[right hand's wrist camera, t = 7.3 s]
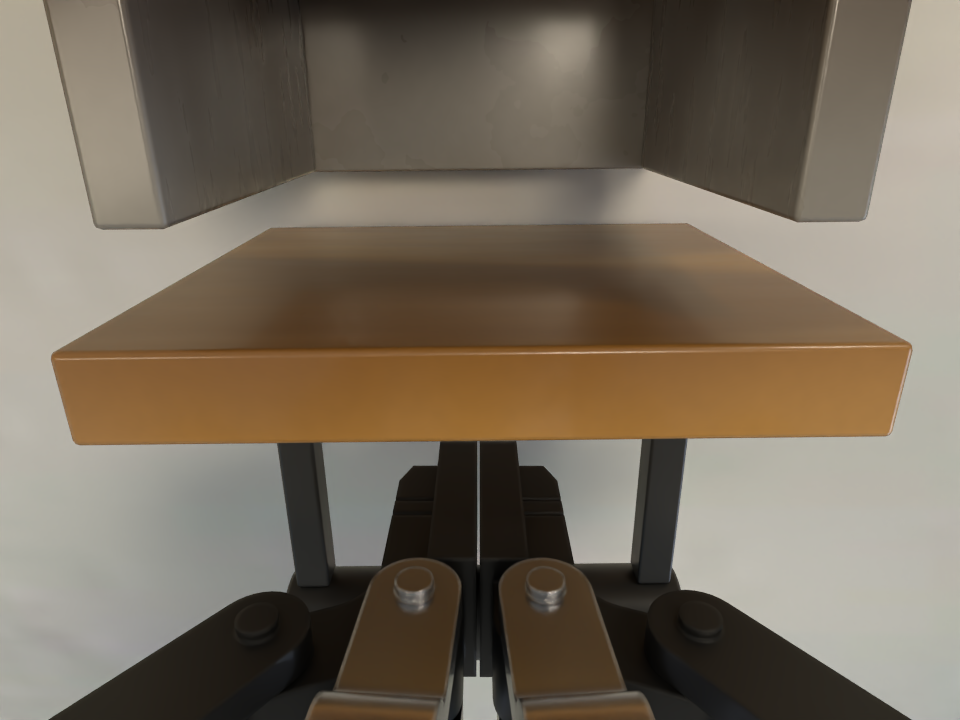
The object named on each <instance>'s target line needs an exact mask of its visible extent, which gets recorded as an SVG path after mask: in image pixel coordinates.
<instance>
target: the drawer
mask: <svg viewBox="0 0 960 720" xmlns="http://www.w3.org/2000/svg"><path fill="white" fill-rule="evenodd" d="M43 2H44V7H45V11H46V15H47V20H48V24H49V29H50V33H51V37H52V42H53V46H54V51H55V55H56V59H57V64H58V68H59V73H60V77H61V81H62V86H63V90H64V95H65V99H66V103H67V108H68V112H69V116H70V121H71V125H72V130H73V134H74V138H75V143H76V147H77V152H78V156H79V160H80V165H81V169H82V174H83V178H84V182H85V187H86V191H87V196H88V200H89V204H90V209H91V213H92V218H93V222H94V225H95V226H96V228H100V229H103V230H122V229H165V228H167V227H170V226H173V225H175V224H178V223H180V222H183V221H186V220H188V219H191V218H194V217H196V216H199V215H202V214H204V213H207V212H209V211H212V210H215V209H217V208H220V207H223V206H225V205H228V204H231V203H233V202H236V201H238V200H241V199H244V198H246V197H249V196H252V195H254V194H257V193H260V192H262V191H265V190H267V189H270V188H273V187H275V186H278V185H281V184H283V183H286V182H289V181H291V180H294V179H296V178H299V177H302V176H304V175H307V174H310V173H312V172H343V171H436V170H529V169H623V168H644V169H647V170H649V171H652V172H655V173H658V174H661V175H664V176H667V177H670V178H672V179H675V180H678V181H681V182H684V183H687V184H690V185H692V186H695V187H698V188H701V189H704V190H707V191H710V192H712V193H715V194H718V195H721V196H724V197H727V198H730V199H733V200H735V201H738V202H741V203H744V204H747V205H750V206H753V207H755V208H758V209H761V210H764V211H767V212H770V213H773V214H775V215H778V216H781V217H784V218H787V219H790V220H793V221H796V222H859V221H862V220H865V219H866V217H867V214H868V209H869V205H870V200H871V195H872V190H873V185H874V181H875V176H876V171H877V166H878V161H879V156H880V152H881V147H882V142H883V137H884V132H885V128H886V123H887V118H888V113H889V108H890V103H891V99H892V94H893V89H894V84H895V79H896V75H897V70H898V65H899V60H900V55H901V50H902V46H903V41H904V36H905V31H906V26H907V22H908V17H909V12H910V7H911V2H912V0H43ZM911 354H912V345H911V344H910V343H909V342H907V341H905V340H903V339H901V338H900V337H898V336H896V335H894V334H892V333H890V332H888V331H887V330H885V329H883V328H881V327H879V326H877V325H875V324H874V323H872V322H870V321H868V320H866V319H864V318H862V317H861V316H859V315H857V314H855V313H853V312H851V311H849V310H848V309H846V308H844V307H842V306H840V305H838V304H836V303H834V302H833V301H831V300H829V299H827V298H825V297H823V296H821V295H820V294H818V293H816V292H814V291H812V290H810V289H808V288H807V287H805V286H803V285H801V284H799V283H797V282H795V281H794V280H792V279H790V278H788V277H786V276H784V275H782V274H781V273H779V272H777V271H775V270H773V269H771V268H769V267H768V266H766V265H764V264H762V263H760V262H758V261H756V260H754V259H753V258H751V257H749V256H747V255H745V254H743V253H741V252H740V251H738V250H736V249H734V248H732V247H730V246H728V245H727V244H725V243H723V242H721V241H719V240H717V239H715V238H714V237H712V236H710V235H708V234H706V233H704V232H702V231H701V230H699V229H697V228H695V227H693V226H691V225H689V224H687V223H685V224H593V225H500V226H408V227H315V228H270V229H268V230H266V231H265V232H263V233H261V234H259V235H258V236H256V237H254V238H252V239H251V240H249V241H247V242H245V243H244V244H242V245H240V246H238V247H237V248H235V249H233V250H232V251H230V252H228V253H226V254H225V255H223V256H221V257H219V258H218V259H216V260H214V261H212V262H211V263H209V264H207V265H205V266H204V267H202V268H200V269H198V270H197V271H195V272H193V273H191V274H190V275H188V276H186V277H184V278H183V279H181V280H179V281H177V282H176V283H174V284H172V285H170V286H169V287H167V288H165V289H163V290H162V291H160V292H158V293H156V294H155V295H153V296H151V297H149V298H148V299H146V300H144V301H142V302H141V303H139V304H137V305H135V306H134V307H132V308H130V309H128V310H127V311H125V312H123V313H121V314H120V315H118V316H116V317H115V318H113V319H111V320H109V321H108V322H106V323H104V324H102V325H101V326H99V327H97V328H95V329H94V330H92V331H90V332H88V333H87V334H85V335H83V336H81V337H80V338H78V339H76V340H74V341H73V342H71V343H69V344H67V345H66V346H64V347H62V348H60V349H59V350H57V351H55V352H53V354H52V356H51V361H52V365H53V369H54V372H55V376H56V380H57V383H58V387H59V391H60V395H61V398H62V402H63V406H64V409H65V413H66V417H67V420H68V424H69V428H70V431H71V435H72V439H73V441H74V442H75V444H78V445H141V444H230V443H277V446H278V453H279V460H280V467H281V474H282V481H283V488H284V495H285V502H286V509H287V517H288V524H289V531H290V538H291V545H292V552H293V559H294V566H295V572H294V574H293V576H292V578H291V580H290V583H289V586H288V590H287V593H288V594H291V595H294V596H296V597H298V598H300V599H301V600H302V601H303V602H304V603H305V604H306V606H307V607H308V610H309V612H312V611H316V610H320V609H324V608H328V607H332V606H336V605H339V604H342V603H345V602H347V601H350V600H352V599H354V598H355V597H357V596H359V595H360V594H362V593H363V592H365V591H366V590H367V589H368V586H369V584H370V581H371V580H372V578H373V577H374V576H375V575H376V574H377V573H378V572H379V571H380V570H381V566H335V557H334V548H333V539H332V531H331V522H330V513H329V504H328V495H327V486H326V478H325V469H324V460H323V451H322V442H410V441H499V440H589V439H642V446H641V457H640V467H639V478H638V489H637V500H636V511H635V521H634V532H633V543H632V554H631V563H596V564H574V566H575V567H576V568H577V569H579V570H580V571H581V572H582V573H583V574H584V575H585V576H586V577H587V578H588V580H589V581H590V584H591V586H592V588H593V591H594V594H595V595H596V596H598V597H600V598H602V599H603V600H605V601H608V602H610V603H613V604H616V605H619V606H622V607H626V608H630V609H634V610H639V611H643V612H647V613H648V610H649V608H650V605H651V604H652V603H653V601H654V600H655V599H657V598H658V597H659V596H661V595H663V594H665V593H668V592H671V591H677V590H681V589H680V585H679V582H678V579H677V577H676V574H675V572H674V570H673V568H672V562H673V553H674V545H675V537H676V529H677V521H678V512H679V504H680V496H681V488H682V480H683V471H684V463H685V455H686V447H687V439H688V438H768V437H858V436H887V435H890V433H891V432H892V430H893V426H894V422H895V418H896V414H897V410H898V406H899V402H900V398H901V394H902V390H903V386H904V382H905V378H906V374H907V370H908V366H909V362H910V358H911ZM476 660H480V565H477V636H476Z"/></svg>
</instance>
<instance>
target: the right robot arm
mask: <svg viewBox="0 0 960 720" xmlns="http://www.w3.org/2000/svg"><path fill="white" fill-rule="evenodd" d="M476 636H477V441H441V442H440V451H439V459H438V466H413V467H412V468H411V469H410V470H409V471H408V472H407V473H406V474H405V475H404V477H403V478H402V479H401V480H400V481H399V486H398V491H397V495H396V501H395V505H394V509H393V515H392V519H391V523H390V528H389V533H388V538H387V542H386V547H385V552H384V556H383V561H382V566H381V570H380V571H379V572H378V573H377V574H376V575H375V576H374V577H373V578H372V580H371V581H370V584H369V586H368V589H367V590H366V591H365V592H363V593H362V594H360V595H359V596H357V597H355V598H354V599H352V600H350V601H347V602H345V603H342V604H339V605H336V606H332V607H328V608H324V609H320V610H316V611H312V612H309V610H308V607H307V606H306V604H305V603H304V602H303V601H302V600H301V599H300V598H298V597H296V596H294V595H291V594H288V593H284V592H273V591H271V592H262V593H256V594H253V595H249V596H246V597H244V598H241V599H239V600H237V601H235V602H233V603H232V604H230V605H228V606H227V607H225V608H224V609H222V610H220V611H219V612H217V613H216V614H214V615H212V616H211V617H209V618H208V619H206V620H205V621H203V622H201V623H200V624H198V625H197V626H195V627H194V628H192V629H190V630H189V631H187V632H186V633H184V634H183V635H181V636H179V637H178V638H176V639H175V640H173V641H172V642H170V643H168V644H167V645H165V646H164V647H162V648H161V649H159V650H157V651H156V652H154V653H153V654H151V655H150V656H148V657H146V658H145V659H143V660H142V661H140V662H138V663H137V664H135V665H134V666H132V667H131V668H129V669H127V670H126V671H124V672H123V673H121V674H120V675H118V676H116V677H115V678H113V679H112V680H110V681H109V682H107V683H105V684H104V685H102V686H101V687H99V688H98V689H96V690H94V691H93V692H91V693H90V694H88V695H87V696H85V697H83V698H82V699H80V700H79V701H77V702H76V703H74V704H72V705H71V706H69V707H68V708H66V709H64V710H63V711H61V712H60V713H58V714H57V715H55V716H53V717H52V718H50V719H49V720H463V677H476ZM480 677H492V682H493V703H494V707H495V710H496V712H497V720H911V719H910V718H908V717H907V716H905V715H903V714H902V713H900V712H899V711H897V710H895V709H894V708H892V707H891V706H889V705H888V704H886V703H884V702H883V701H881V700H880V699H878V698H877V697H875V696H873V695H872V694H870V693H869V692H867V691H866V690H864V689H862V688H861V687H859V686H858V685H856V684H855V683H853V682H851V681H850V680H848V679H847V678H845V677H844V676H842V675H840V674H839V673H837V672H836V671H834V670H833V669H831V668H829V667H828V666H826V665H825V664H823V663H822V662H820V661H818V660H817V659H815V658H814V657H812V656H810V655H809V654H807V653H806V652H804V651H803V650H801V649H799V648H798V647H796V646H795V645H793V644H792V643H790V642H788V641H787V640H785V639H784V638H782V637H781V636H779V635H777V634H776V633H774V632H773V631H771V630H770V629H768V628H766V627H765V626H763V625H762V624H760V623H759V622H757V621H755V620H754V619H752V618H751V617H749V616H748V615H746V614H744V613H743V612H741V611H740V610H738V609H736V608H735V607H733V606H732V605H730V604H729V603H727V602H725V601H723V600H722V599H720V598H717V597H715V596H713V595H710V594H707V593H703V592H699V591H692V590H677V591H671V592H668V593H665V594H663V595H661V596H659V597H658V598H657V599H655V600H654V601H653V603H652V604H651V605H650V608H649V610H648V613H647V612H643V611H639V610H634V609H630V608H626V607H622V606H619V605H616V604H613V603H610V602H608V601H605V600H603V599H602V598H600V597H598V596H596V595H595V594H594V591H593V588H592V586H591V584H590V581H589V580H588V578H587V577H586V576H585V575H584V574H583V573H582V572H581V571H580V570H579V569H577V568H576V567H575V566H574V561H573V556H572V551H571V546H570V541H569V536H568V532H567V527H566V522H565V517H564V514H563V507H562V502H561V497H560V492H559V488H558V483H557V480H556V479H555V478H554V477H553V476H552V475H551V474H550V473H549V472H548V470H547V469H546V468H545V467H544V466H519V462H518V453H517V443H516V441H480Z"/></svg>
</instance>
